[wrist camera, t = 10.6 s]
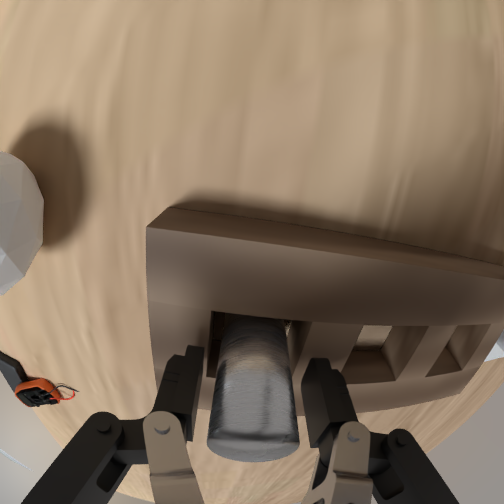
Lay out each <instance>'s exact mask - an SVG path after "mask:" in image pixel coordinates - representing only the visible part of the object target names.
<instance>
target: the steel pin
mask: <svg viewBox="0 0 504 504" xmlns="http://www.w3.org/2000/svg"><path fill="white" fill-rule="evenodd" d="M299 445H300V441H299V432H298V423H297V415H296V406H295V398H294V390H293V382H292V374H291V367H290V359H289V351H288V344H287V337H286V330H285V322H284V319H277V318H267V317H258V316H250V315H241V314H233V313H226V315H225V322H224V328H223V334H222V341H221V347H220V354H219V360H218V367H217V373H216V380H215V387H214V394H213V401H212V407H211V414H210V422H209V429H208V436H207V446H208V447H209V449H210V450H211V451H213V452H214V453H216V454H217V455H219V456H222V457H224V458H227V459H231V460H236V461H242V462H265V461H272V460H276V459H280V458H283V457H286V456H288V455H290V454H292V453H293V452H295V451H296V450H297V449H298V447H299Z"/></svg>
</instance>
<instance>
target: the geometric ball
mask: <svg viewBox="0 0 504 504" xmlns="http://www.w3.org/2000/svg"><path fill="white" fill-rule="evenodd" d="M43 209H44V199H43V197H42V194H41V192H40V189H39V187H38V184H37V181H36V179H35V176H34V174H33V173H32V172H31V171H30V169H29V168H28V167H27V166H26V165H25V163H24V162H23V161H21V160H20V159H18V158H16V157H15V156H13V155H11V154H9V153H6V152H3V151H0V295H4V294H5V293H6V292H7V291H8V290H9V289H10V288H11V287H13V286H14V285H15V284H16V283H17V282H18V281H19V280H21V279H22V278H23V277H24V276H25V274H26V272H27V270H28V268H29V267H30V265H31V263H32V261H33V259H34V257H35V256H36V254H37V252H38V250H39V249H40V247H41V245H42V243H43Z"/></svg>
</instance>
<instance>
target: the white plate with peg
mask: <svg viewBox="0 0 504 504" xmlns="http://www.w3.org/2000/svg"><path fill="white" fill-rule="evenodd" d="M500 357H504V330H503V332H502V333H501V335H500V337H499V338H498V340H497V342H496V343H495V345H494V347H493V348H492V350H491V351H490V353H489V354H488V356H487V357H486V359H485V360H484V362H485V361H489V360H493V359H497V358H500Z"/></svg>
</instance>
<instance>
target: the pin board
mask: <svg viewBox="0 0 504 504" xmlns="http://www.w3.org/2000/svg"><path fill="white" fill-rule="evenodd" d="M146 276H147V298H148V314H149V326H150V337H151V347H152V356H153V364H154V371H155V378H156V385H157V391H158V390H159V387H160V383H161V380H162V377H163V373H164V370H165V367H166V364H167V361H168V360H169V359H170V358H171V357H172V356H173V355H174V354H176V355H182V356H185V352H186V349H187V345H193V346H199V347H204V363H203V376H202V384H201V390H200V396H199V402H198V409H205V410H211V407H212V401H213V394H214V387H215V380H216V373H217V367H218V360H219V354H220V347H221V341H215V340H212V334H213V323H214V312H215V311H218V312H226V313H233V314H241V315H250V316H258V317H267V318H277V319H288V320H292V323H291V326H290V330H289V333H288V336H287V344H288V351H289V359H290V367H291V374H292V382H293V390H294V398H295V406H296V415H297V416H305V411H304V406H303V400H302V394H301V381H302V378H303V375H304V373H305V371H306V368H307V366H308V363H309V361H310V359H311V358H328V359H329V361H330V365H331V368H332V369H338V370H339V372H340V373H341V374H342V375H343V376H344V379H345V381H346V384H347V388H348V391H349V395H350V397H351V400H352V403H353V406H354V409H355V412H356V413H362V412H371V411H379V410H386V409H393V408H399V407H404V406H410V405H415V404H420V403H424V402H429V401H433V400H437V399H441V398H445V397H449V396H453V395H456V394H460V393H461V392H462V390H463V389H464V388H465V386H466V385H467V384H468V383H469V381H470V380H471V379H472V377H473V376H474V375H475V373H476V372H477V370H478V369H479V368H480V366H481V365H482V363H483V362H484V360H485V359H486V357H487V356H488V354H489V353H490V351H491V350H492V348H493V347H494V345H495V343H496V342H497V340H498V338H499V337H500V335H501V333H502V332H503V330H504V267H503V266H500V265H496V264H492V263H487V262H483V261H479V260H475V259H471V258H466V257H462V256H457V255H453V254H448V253H444V252H439V251H434V250H430V249H425V248H420V247H415V246H410V245H405V244H400V243H395V242H390V241H385V240H380V239H374V238H369V237H364V236H358V235H353V234H347V233H341V232H335V231H330V230H324V229H318V228H312V227H306V226H299V225H293V224H287V223H280V222H274V221H267V220H260V219H253V218H246V217H239V216H232V215H224V214H217V213H209V212H201V211H193V210H185V209H177V208H167V209H166V210H164V211H163V212H162V213H161V214H160V215H159V216H158V217H157V218H155V219H154V220H153V221H152V222H151V223H150V224H149V225H148V226H147V227H146ZM363 325H389V326H393V327H392V329H391V331H390V333H389V335H388V337H387V339H386V341H385V343H384V345H383V347H382V348H381V350H377V351H352V349H353V347H354V345H355V343H356V341H357V339H358V336H359V334H360V332H361V330H362V328H363ZM457 325H458V326H457ZM456 327H457V328H456ZM455 328H456V329H455ZM454 330H455V331H454ZM453 332H454V333H453ZM452 334H453V335H452ZM451 335H452V336H451ZM450 337H451V338H450ZM449 339H450V340H449ZM448 341H449V342H448ZM447 342H448V343H447ZM446 344H447V345H446ZM445 346H446V347H445Z"/></svg>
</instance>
